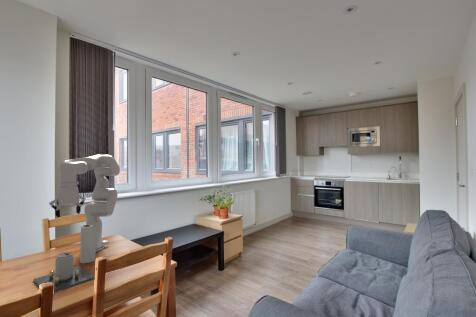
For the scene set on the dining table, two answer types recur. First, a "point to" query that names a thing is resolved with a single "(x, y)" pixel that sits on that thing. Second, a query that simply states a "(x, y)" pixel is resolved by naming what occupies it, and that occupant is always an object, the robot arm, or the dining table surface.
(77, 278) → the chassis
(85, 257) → the paper towel roll
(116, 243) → the dining table surface
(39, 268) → the dining table surface
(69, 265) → the can
